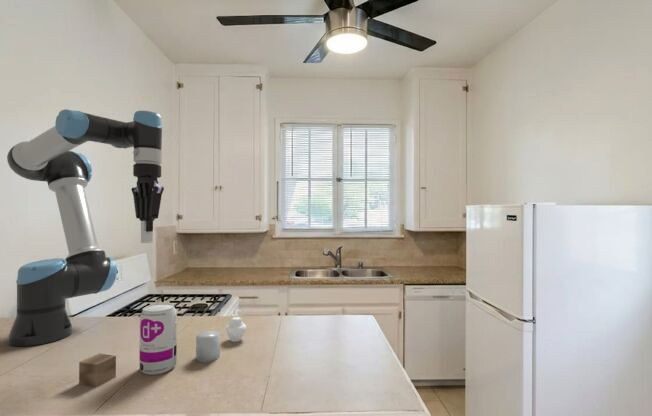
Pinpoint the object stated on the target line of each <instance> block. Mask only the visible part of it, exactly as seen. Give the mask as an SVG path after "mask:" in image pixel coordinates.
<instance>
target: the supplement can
mask: <svg viewBox="0 0 652 416" xmlns="http://www.w3.org/2000/svg"><path fill="white" fill-rule="evenodd" d="M177 322H178V311H177V309H176V308H175V305H174V304H173V303H172V304H171V303H158V304H157V303H156V304H150V305H147V306H145V307H143V309H142V311H141V313H140V315H139V359H138V361H139V365H138V366H139V371H140V372H142V374H145V375H149V376H151V375H153V376H154V375H155V376H156V375H161V374H164V373H168V372H169V371H171V370H172V369H174V367H175V366H176V365H177V344H178V343H177V341H178V340H177V338H178V337H177V334H178V327H177V325H178V323H177Z"/></svg>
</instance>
